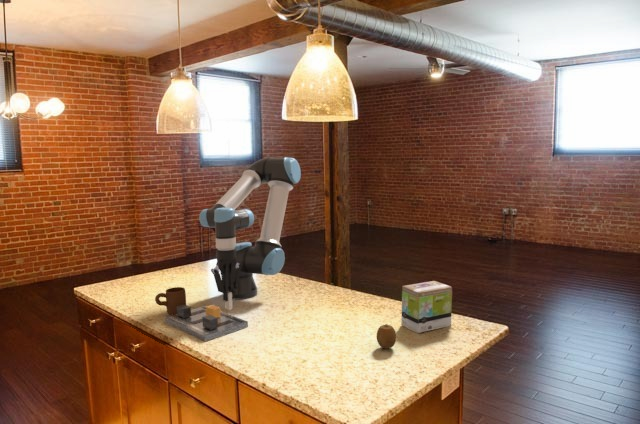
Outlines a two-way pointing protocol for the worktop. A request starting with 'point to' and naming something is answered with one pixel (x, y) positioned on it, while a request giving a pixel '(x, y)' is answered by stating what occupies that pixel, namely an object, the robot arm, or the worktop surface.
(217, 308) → the tall orange block
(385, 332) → the fruit
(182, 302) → the mug
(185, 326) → the panel
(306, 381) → the worktop surface
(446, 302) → the tea box
